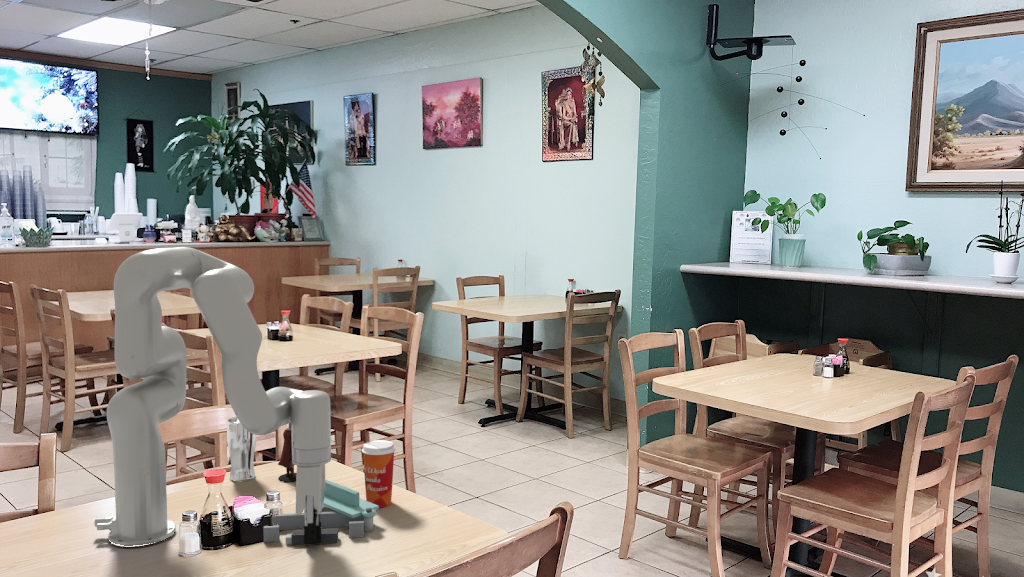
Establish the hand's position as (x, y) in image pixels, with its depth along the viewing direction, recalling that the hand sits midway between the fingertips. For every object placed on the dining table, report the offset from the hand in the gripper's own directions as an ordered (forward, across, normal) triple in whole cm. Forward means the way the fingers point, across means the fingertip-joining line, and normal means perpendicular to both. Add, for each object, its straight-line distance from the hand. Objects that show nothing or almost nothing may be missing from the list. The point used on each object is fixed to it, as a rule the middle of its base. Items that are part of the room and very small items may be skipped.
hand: (312, 542), depth 157 cm
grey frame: (+1, -7, 0) cm, 7 cm away
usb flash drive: (+1, -3, 0) cm, 3 cm away
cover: (-2, -15, +4) cm, 16 cm away
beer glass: (+1, -44, -22) cm, 49 cm away
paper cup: (+1, -22, +13) cm, 26 cm away
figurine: (+1, -42, -10) cm, 43 cm away
